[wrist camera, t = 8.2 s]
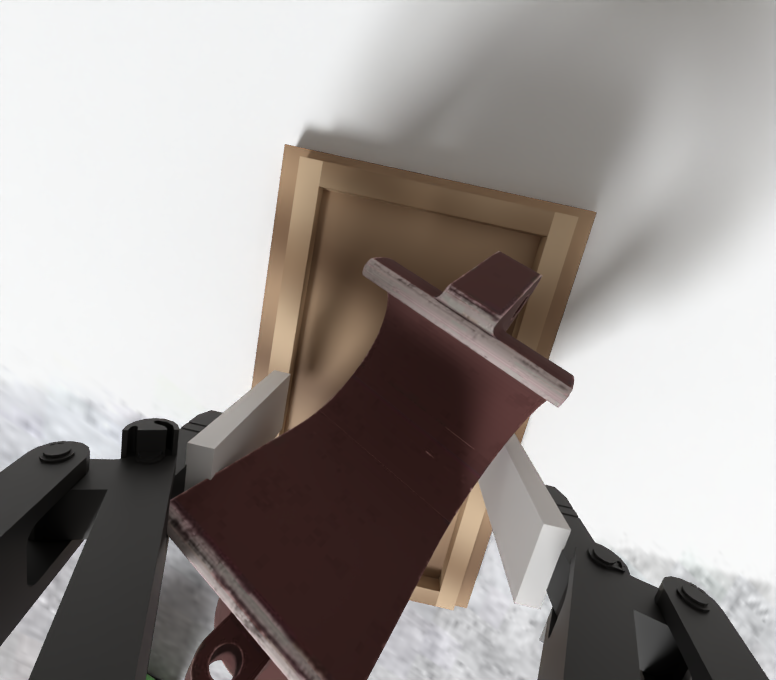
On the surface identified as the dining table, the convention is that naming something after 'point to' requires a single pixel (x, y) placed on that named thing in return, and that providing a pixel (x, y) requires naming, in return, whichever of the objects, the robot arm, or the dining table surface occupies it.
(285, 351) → the side panel
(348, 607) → the bracket
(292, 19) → the dining table surface
